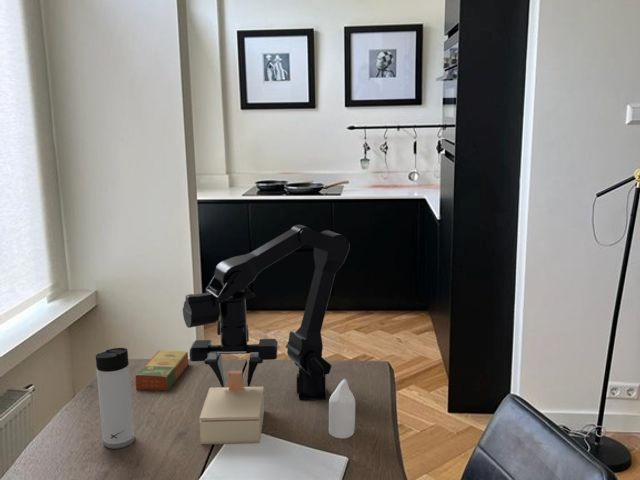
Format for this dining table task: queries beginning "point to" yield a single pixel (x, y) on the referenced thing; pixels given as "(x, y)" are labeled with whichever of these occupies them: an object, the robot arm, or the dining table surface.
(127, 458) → the dining table surface
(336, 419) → the white pointed cylinder
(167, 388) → the carton
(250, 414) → the lid panel
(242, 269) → the robot arm
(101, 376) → the travel mug
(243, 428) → the kraft box
